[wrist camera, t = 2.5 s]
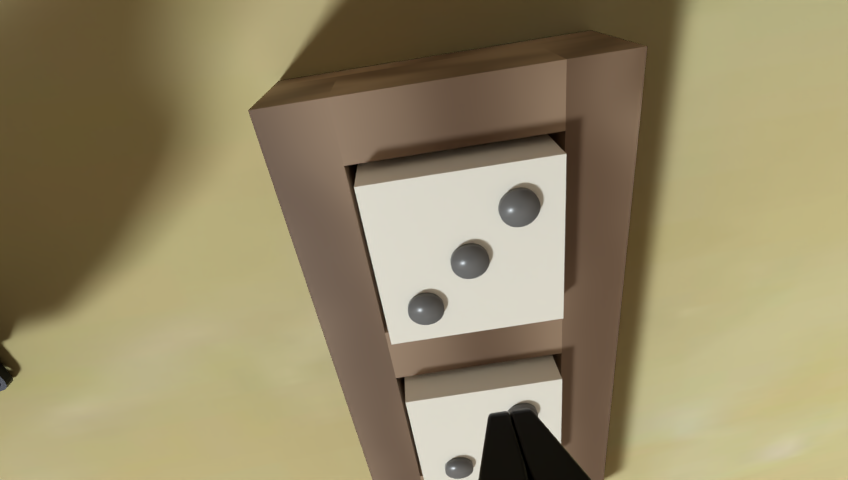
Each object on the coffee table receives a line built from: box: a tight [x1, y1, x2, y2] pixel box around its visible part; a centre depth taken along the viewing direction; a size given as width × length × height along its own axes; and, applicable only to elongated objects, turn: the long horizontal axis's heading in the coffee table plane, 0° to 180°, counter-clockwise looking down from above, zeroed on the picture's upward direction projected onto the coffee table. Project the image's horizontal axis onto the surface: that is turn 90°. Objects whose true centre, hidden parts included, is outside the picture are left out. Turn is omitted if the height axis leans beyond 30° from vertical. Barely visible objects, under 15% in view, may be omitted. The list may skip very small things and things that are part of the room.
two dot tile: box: [405, 355, 562, 480], centre depth 20 cm, size 6×6×3 cm
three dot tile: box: [354, 134, 566, 344], centre depth 15 cm, size 6×6×3 cm
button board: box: [248, 30, 647, 480], centre depth 21 cm, size 11×29×4 cm, turn 8°
